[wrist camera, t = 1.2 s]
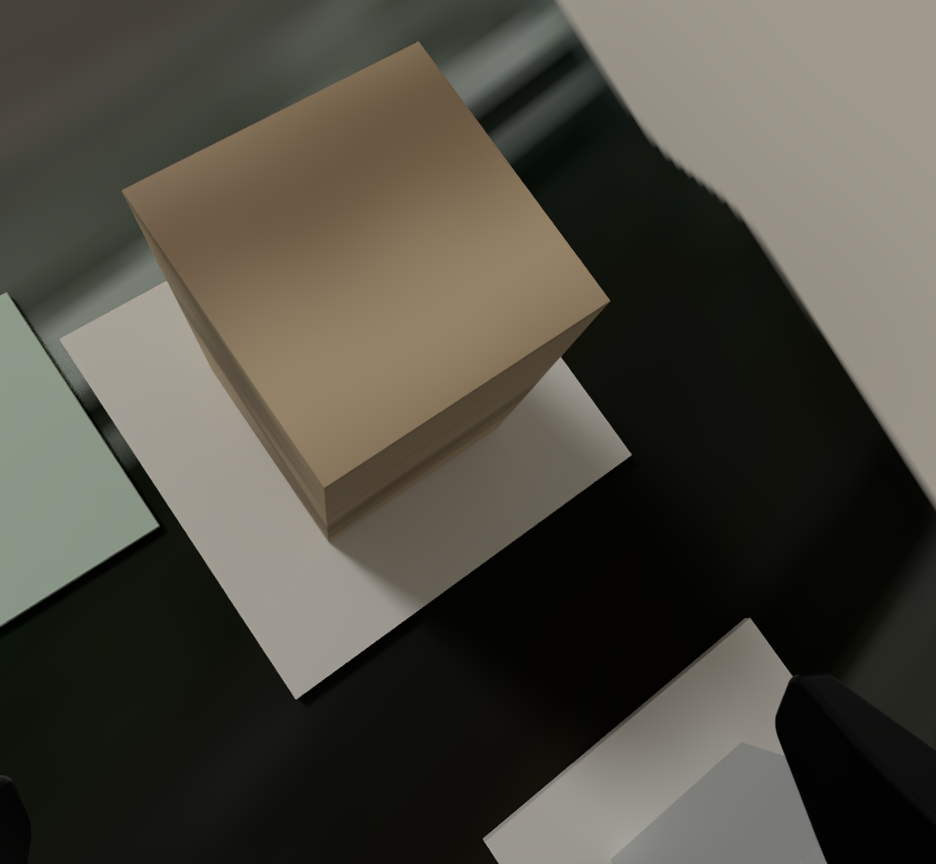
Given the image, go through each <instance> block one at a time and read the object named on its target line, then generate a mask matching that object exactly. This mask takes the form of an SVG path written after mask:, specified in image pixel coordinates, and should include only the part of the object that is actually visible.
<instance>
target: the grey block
mask: <svg viewBox="0 0 936 864" xmlns="http://www.w3.org/2000/svg"><path fill="white" fill-rule="evenodd" d="M611 861H612V862H613V864H827V862H826V860H825V858H824V856H823V853H822V851H821V849H820V846H819V844H818V841H817V839H816V837H815V834H814V831H813V829H812V826H811V823H810V821H809V818H808V816H807V813H806V810H805V808H804V805H803V803H802V800H801V797H800V795H799V792H798V789H797V787H796V784H795V782H794V779H793V776H792V774H791V771H790V768H789V766H788V763H787V761H786V758H785V756H783V755H780V754H777V753H774V752H771V751H768V750H764V749H761V748H758V747H755V746H752V745H749V744H746V743H742V742H741V743H740V744H739V745H737V746H736V747H735V748H734V749H733V750H732V751H731V752H730V753H729V754H727V755H726V756H725V757H724V758H723V759H722V760H721V761H720V762H718V763H717V764H716V765H715V766H714V767H713V768H712V769H711V770H710V771H708V772H707V773H706V774H705V775H704V776H703V777H702V778H701V779H700V780H698V781H697V782H696V783H695V784H694V785H693V786H692V787H691V788H689V789H688V790H687V791H686V792H685V793H684V794H683V795H682V796H681V797H679V798H678V799H677V800H676V801H675V802H674V803H673V804H672V805H671V806H669V807H668V808H667V809H666V810H665V811H664V812H663V813H662V814H660V815H659V816H658V817H657V818H656V819H655V820H654V821H653V822H652V823H650V824H649V825H648V826H647V827H646V828H645V829H644V830H643V831H641V832H640V833H639V834H638V835H637V836H636V837H635V838H634V839H633V840H631V841H630V842H629V843H628V844H627V845H626V846H625V847H624V848H623V849H621V850H620V851H619V852H618V853H617V854H616V855H615V856H614V857H612V858H611Z"/></svg>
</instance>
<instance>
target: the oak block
mask: <svg viewBox="0 0 936 864" xmlns="http://www.w3.org/2000/svg"><path fill="white" fill-rule="evenodd" d="M122 192H123V194H124V196H125V198H126V200H127V202H128V204H129V206H130V208H131V210H132V212H133V214H134V216H135V218H136V220H137V222H138V224H139V226H140V228H141V230H142V232H143V234H144V236H145V238H146V240H147V242H148V244H149V246H150V248H151V250H152V252H153V254H154V256H155V258H156V260H157V262H158V264H159V266H160V268H161V270H162V272H163V274H164V276H165V278H166V280H167V282H168V284H169V286H170V288H171V290H172V292H173V294H174V296H175V298H176V300H177V302H178V304H179V306H180V308H181V310H182V312H183V314H184V316H185V318H186V320H187V322H188V324H189V326H190V328H191V330H192V332H193V334H194V336H195V338H196V340H197V342H198V343H199V345H200V347H201V349H202V351H203V353H204V355H205V357H206V359H207V361H208V363H209V365H210V367H211V369H212V371H213V372H214V374H215V375H216V377H217V378H218V380H219V381H220V383H221V384H222V386H223V387H224V389H225V390H226V392H227V393H228V395H229V396H230V398H231V399H232V400H233V402H234V403H235V405H236V406H237V408H238V409H239V411H240V412H241V414H242V415H243V417H244V418H245V420H246V421H247V423H248V424H249V426H250V427H251V429H252V430H253V432H254V433H255V434H256V436H257V437H258V439H259V440H260V442H261V443H262V445H263V446H264V448H265V449H266V451H267V452H268V454H269V455H270V457H271V458H272V460H273V461H274V463H275V464H276V466H277V467H278V469H279V470H280V471H281V473H282V474H283V476H284V477H285V479H286V480H287V482H288V483H289V485H290V486H291V488H292V489H293V491H294V492H295V494H296V495H297V497H298V498H299V500H300V501H301V503H302V504H303V506H304V507H305V508H306V510H307V511H308V513H309V514H310V516H311V517H312V519H313V520H314V522H315V523H316V525H317V526H318V528H319V529H320V531H321V532H322V534H323V535H324V537H325V538H326V540H327V541H328V542H330V541H331V540H333V539H334V538H336V537H337V536H338V535H340V534H341V533H343V532H344V531H346V530H347V529H349V528H350V527H352V526H353V525H355V524H356V523H358V522H359V521H361V520H362V519H364V518H365V517H367V516H368V515H370V514H371V513H372V512H374V511H375V510H377V509H378V508H380V507H381V506H383V505H384V504H386V503H387V502H389V501H390V500H392V499H393V498H395V497H396V496H398V495H399V494H401V493H402V492H404V491H405V490H406V489H408V488H409V487H411V486H412V485H414V484H415V483H417V482H418V481H420V480H421V479H423V478H424V477H426V476H427V475H429V474H430V473H432V472H433V471H435V470H436V469H437V468H439V467H440V466H442V465H443V464H445V463H446V462H448V461H449V460H451V459H452V458H454V457H455V456H457V455H458V454H460V453H461V452H463V451H464V450H466V449H467V448H469V447H470V446H471V445H473V444H474V443H476V442H477V441H479V440H480V439H482V438H483V437H485V436H486V435H488V434H489V433H491V432H492V431H494V430H495V429H497V428H498V427H499V426H500V425H501V424H502V423H503V421H504V420H505V419H506V418H507V417H508V416H509V415H510V413H511V412H512V411H513V410H514V409H515V408H516V407H517V406H518V404H519V403H520V402H521V401H522V400H523V399H524V398H525V397H526V395H527V394H528V393H529V392H530V391H531V390H532V389H533V387H534V386H535V385H536V384H537V383H538V382H539V381H540V380H541V378H542V377H543V376H544V375H545V374H546V373H547V372H548V371H549V369H550V368H551V367H552V366H553V365H554V364H555V363H556V361H557V360H558V359H559V358H560V357H561V356H562V355H563V354H564V352H565V351H566V350H567V349H568V348H569V347H570V346H571V344H572V343H573V342H574V341H575V340H576V339H577V338H578V337H579V335H580V334H581V333H582V332H583V331H584V330H585V329H586V328H587V326H588V325H589V324H590V323H591V322H592V321H593V320H594V318H595V317H596V316H597V315H598V314H599V313H600V312H601V311H602V309H603V308H604V307H605V306H606V305H607V304H608V303H609V302H610V300H609V299H608V297H607V296H606V295H605V293H604V292H603V291H602V289H601V288H600V287H599V285H598V284H597V282H596V281H595V280H594V278H593V277H592V276H591V274H590V273H589V272H588V270H587V269H586V268H585V266H584V265H583V264H582V262H581V261H580V259H579V258H578V257H577V255H576V254H575V253H574V251H573V250H572V249H571V247H570V246H569V245H568V243H567V242H566V240H565V239H564V238H563V236H562V235H561V234H560V232H559V231H558V230H557V228H556V227H555V226H554V224H553V223H552V222H551V220H550V219H549V217H548V216H547V215H546V213H545V212H544V211H543V209H542V208H541V207H540V205H539V204H538V203H537V201H536V200H535V199H534V197H533V196H532V194H531V193H530V192H529V190H528V189H527V188H526V186H525V185H524V184H523V182H522V181H521V180H520V178H519V177H518V175H517V174H516V173H515V171H514V170H513V169H512V167H511V166H510V165H509V163H508V162H507V161H506V159H505V158H504V157H503V155H502V154H501V152H500V151H499V150H498V148H497V147H496V146H495V144H494V143H493V142H492V140H491V139H490V138H489V136H488V135H487V134H486V132H485V131H484V129H483V128H482V127H481V125H480V124H479V123H478V121H477V120H476V119H475V117H474V116H473V115H472V113H471V112H470V111H469V109H468V108H467V106H466V105H465V104H464V102H463V101H462V100H461V98H460V97H459V96H458V94H457V93H456V92H455V90H454V89H453V87H452V86H451V85H450V83H449V82H448V81H447V79H446V78H445V77H444V75H443V74H442V73H441V71H440V70H439V69H438V67H437V66H436V64H435V63H434V62H433V60H432V59H431V58H430V56H429V55H428V54H427V52H426V51H425V50H424V48H423V47H422V46H421V44H420V43H419V42H417V43H415V44H413V45H411V46H409V47H407V48H405V49H403V50H401V51H399V52H397V53H395V54H393V55H391V56H389V57H387V58H385V59H383V60H381V61H379V62H377V63H375V64H373V65H371V66H369V67H367V68H365V69H363V70H361V71H359V72H357V73H355V74H353V75H351V76H349V77H347V78H345V79H343V80H341V81H339V82H337V83H335V84H333V85H331V86H329V87H327V88H325V89H323V90H321V91H319V92H317V93H315V94H313V95H311V96H309V97H307V98H305V99H303V100H301V101H299V102H297V103H295V104H293V105H291V106H289V107H287V108H285V109H283V110H281V111H279V112H277V113H275V114H273V115H271V116H269V117H267V118H265V119H263V120H261V121H259V122H257V123H255V124H253V125H251V126H249V127H247V128H245V129H243V130H241V131H239V132H237V133H235V134H233V135H231V136H229V137H227V138H225V139H223V140H221V141H219V142H217V143H215V144H213V145H211V146H209V147H207V148H205V149H203V150H201V151H199V152H197V153H195V154H193V155H191V156H189V157H187V158H185V159H183V160H181V161H179V162H177V163H175V164H173V165H171V166H169V167H167V168H165V169H163V170H161V171H159V172H157V173H155V174H153V175H151V176H149V177H147V178H145V179H143V180H141V181H139V182H137V183H135V184H134V185H132V186H130V187H128V188H126V189H124V190H122Z"/></svg>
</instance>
